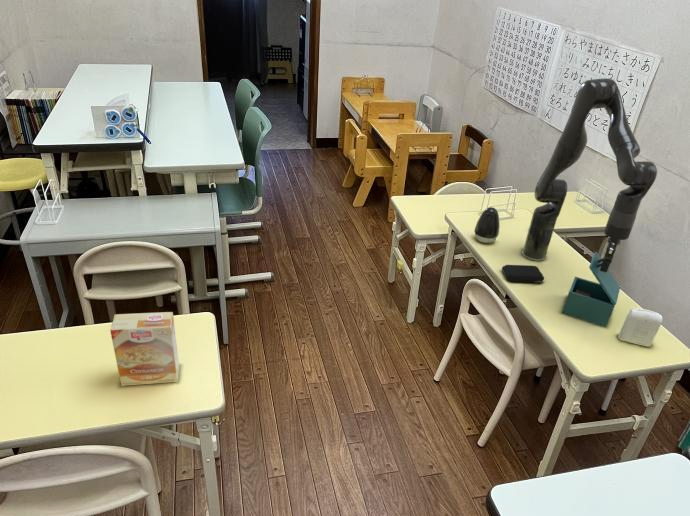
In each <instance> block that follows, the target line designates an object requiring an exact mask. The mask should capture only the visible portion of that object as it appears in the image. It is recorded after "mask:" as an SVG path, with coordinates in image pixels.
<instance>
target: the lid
mask: <svg viewBox="0 0 690 516" xmlns="http://www.w3.org/2000/svg"><path fill="white" fill-rule="evenodd" d="M606 258H607V257H606ZM603 259H604V257H602V258H601V256H600V255H599V253H598V251H595V252H593V255H592V258H591V260H590V264H589V266H588V268H589V270H590V271H591V273H592V274H593V276H594V277H595V279H596V281H597V283H599V284H600V285H601V286H602V288H603V289H604V291H605V293H606V294H607V296H608V297H609V299H610V300H611V302H612V303H613V305H615V306H616V305H617V303H618V298H619V295H620V290H621V287H620V284H619V283H618V282H617V281H616V279H615V277H614V276H613V274H612V273H611V272H610V270H609V269H608V270H607V272H602V271H600V268H601V265H602V262H603ZM607 259H610V258H607Z"/></svg>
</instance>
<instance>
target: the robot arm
mask: <svg viewBox="0 0 690 516" xmlns="http://www.w3.org/2000/svg"><path fill="white" fill-rule="evenodd" d="M597 109H604V110H605V111H606V113H607V114H608V116H609V126H608V131H607V140H608V144H609V146H610V148H611V150H612V153H613V155H614V156H615V160H616V161H615V163H616V168H617V176H618V179H619V180H620V182H621V183H622V184H624V185H626V186H628V187H627V188H624V189H622V190H620V191H619V192H618V193H617V195H616V199H615V201H614V204H613V206H612V208H611V211H610V213H609V216H608V219H607V221H606V225H605V228H604V230H603V231H604V232H603V233H604V235H605V236H607V237H608V238H607V240H606V243H605V248H604V251H603V255H604V256H603V258H604V259H603V262H602V265H601V268H600V271H602V272H607V270H609V268H610V264H612V262H613V259H614V257H615V256H616V255H617V251H618V249H619V248H620V245H621V242H622V241H626V240H628V239H629V237H630V236H631V233H632V230H633V227H634V224H635V222H636V220H637V219H636V218H637V215H638V211H639V208H640V206H641V203H642V200H643V199H644V197H646V195H647V193H648V192H649V190H650V189H651V188H652V186H653V185H654V183H655V181H656V179H657V176H658V167H657V166H656V164H655V162H652V161H650V160H646V161H645V160H643V161H642V160H641V161H636V160H635V159H636V158H638V156H639V155H640V153H641V147H640V145H639V143H638V141H637V138H636V137H635V135H634V133H633V131H632V129H631V126H630V124H629V120H628V117H627V114H626V109H625V105H624V103H623V99H622V96H621V91H620V89H619V86H618V84H617V82H616V81H615V80H614V79H613V78H608V77H607V78H606V77H605V78H591V79H587V80H585V81H583V82H582V84H581V85H580V86H579V88H578V91H577V93H576V96H575V99H574V102H573V106H572V108H571V111H570V114H569V117H568V118H567V122H566V124H565V127H564V128H563V131H562V133H561V135H560V137H559V138H558V141H557V142H556V145H555V148H554V150H553V153H552V154H551V157H550V159H549V161H548V164H547V165H546V167H545V169H544V170H543V172H542V173H541V176H540V177H539V179H538V181H537V183H536V184H535V185H536V186H535V188H534V199H535V200H536V201H537V202H539V203H544V204H542V205H540V206H537V207H536V208H534V210H533V213H532V216H531V220H530V223H529V227H528V231H527V233H526V234H527V235H526V238H525V241H524V245H523V249H522V251H521V254H522V256H523V257H524V258H526V259H528V260H531V261H535V262H537V261H538V262H539V261H540V262H541V261H544V260H545V259H546V257H547V254H548V250H549V246H550V244H551V240H552V236H553V234H554V230H555V227H556V223H557V220H558V217H559V216H560V214H561V211H562V208H563V205H564V203H565V200H566V197H567V194H568V183H567V181H566V180H565V179H561V178H557V177H558V176H560V174H562V173H564V172H565V171H566V170H568V169H569V168H570V167H572V166H573V165H575V164H576V163H577V162H578V161H579V160H580V159H581V157H582V154H583V152H584V150H585V149H586V146H587V144H588V133H587V129H586V120H587V118H588V116H589V114H590V112H591V111H592V110H597ZM606 257H607V258H610V259H607V258H606Z"/></svg>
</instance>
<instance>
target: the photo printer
mask: <svg viewBox="0 0 690 516" xmlns="http://www.w3.org/2000/svg"><path fill="white" fill-rule="evenodd" d="M663 320H664V319H663V316H662V315H661V313H658V312H656V311H653V310H650V309H646V308H630V309H629V311H628V313H627V315H626V317H625V320H624V321H623V324H622V325H621V328H620V331H619V333H618V335H617V336H618V339H619V340H620V341H623V342H626V343H630V344H635V345H639V346H644V347H651V345H652V343H653V342H654V339H655V338H656V335H657V333H658V331H659V330H660V327H661V325H662V323H663Z"/></svg>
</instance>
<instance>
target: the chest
mask: <svg viewBox="0 0 690 516" xmlns="http://www.w3.org/2000/svg"><path fill="white" fill-rule="evenodd" d="M576 290H579V291H583V292H586V293H589V294H591V295H590V297H588V296H584V295H581V294H578V293H575V292H576ZM615 306H616V305H613V303H612V302H611V300H610V299H609V297H608V296H607V294H606V293H605V291H604V289H603V288H602V286H601V285H600V283H599V282H595V281H592V280H588V279H585V278H582V277H579V276H574V278H573V280H572V283H571V286H570V289H569V290H568V294H567V297H566V300H565V303H564V306H563V308H562V312H561V313H562V314H564V315H566V316H570V317H573V318H576V319H579V320H582V321H584V322H585V321H586V322H589V323H591V324H593V325H594V324H595V325H598V326H601V327H603V328H607V326H608V323H609V321H610V320H611V319H610V318H611V316H612V314H613V311H614V308H615Z"/></svg>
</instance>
